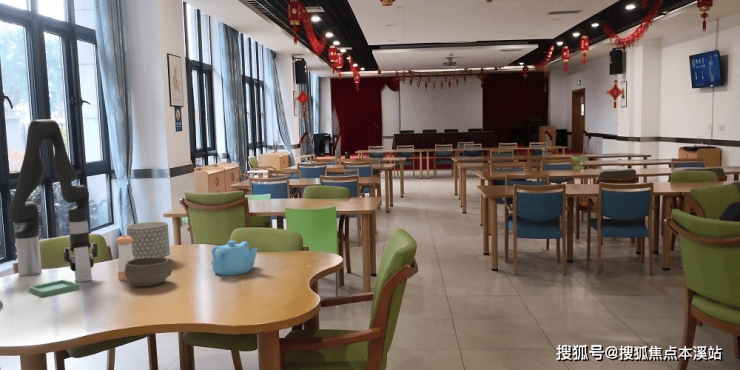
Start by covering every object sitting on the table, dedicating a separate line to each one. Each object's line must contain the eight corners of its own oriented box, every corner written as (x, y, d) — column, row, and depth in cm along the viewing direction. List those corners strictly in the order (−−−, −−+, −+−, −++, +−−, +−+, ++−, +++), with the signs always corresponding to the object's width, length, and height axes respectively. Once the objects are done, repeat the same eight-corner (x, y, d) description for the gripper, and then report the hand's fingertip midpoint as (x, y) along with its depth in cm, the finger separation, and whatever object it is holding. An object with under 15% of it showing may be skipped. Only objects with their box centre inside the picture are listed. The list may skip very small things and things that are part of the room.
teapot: (214, 278, 260) (212, 246, 259) (209, 269, 278) (207, 239, 277) (259, 273, 267) (257, 242, 265) (251, 264, 285) (250, 235, 283)
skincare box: (92, 280, 264) (89, 246, 262) (77, 283, 261) (74, 248, 259) (89, 277, 271) (86, 244, 269) (74, 279, 268) (71, 245, 266)
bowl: (179, 279, 260) (177, 256, 259) (151, 291, 243) (150, 266, 242) (146, 277, 266) (144, 255, 265) (116, 288, 249) (114, 264, 248)
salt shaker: (140, 276, 268) (136, 233, 266) (127, 280, 262) (123, 236, 260) (127, 275, 271) (124, 232, 269) (114, 279, 265) (111, 235, 263)
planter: (155, 255, 311) (152, 220, 309) (178, 259, 300) (175, 223, 298) (121, 263, 296) (118, 226, 294) (144, 267, 285) (141, 229, 283)
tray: (29, 291, 249) (28, 286, 249) (64, 283, 260) (63, 279, 260) (42, 297, 240) (42, 292, 240) (78, 288, 251) (78, 284, 250)
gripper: (91, 228, 271) (94, 264, 273) (58, 233, 261) (61, 271, 262) (99, 229, 267) (102, 266, 268) (65, 235, 256) (69, 273, 257)
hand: (82, 269), depth 265 cm, fingers open, 7 cm apart
